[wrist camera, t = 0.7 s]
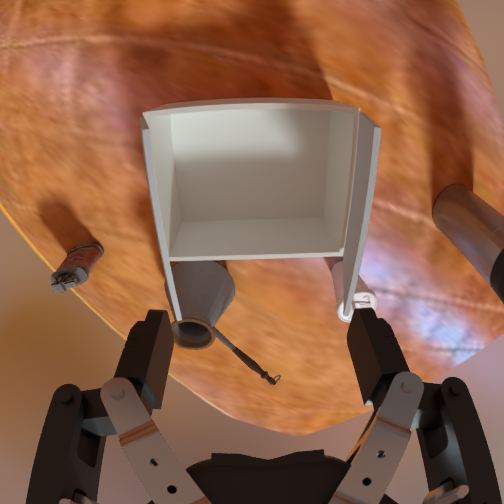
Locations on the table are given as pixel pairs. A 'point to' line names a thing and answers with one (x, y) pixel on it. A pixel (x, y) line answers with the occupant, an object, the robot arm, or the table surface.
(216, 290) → the coffee pot
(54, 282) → the lighter
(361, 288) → the smoothie
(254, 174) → the carton
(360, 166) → the flap
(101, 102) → the table surface
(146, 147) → the flap
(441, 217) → the robot arm
